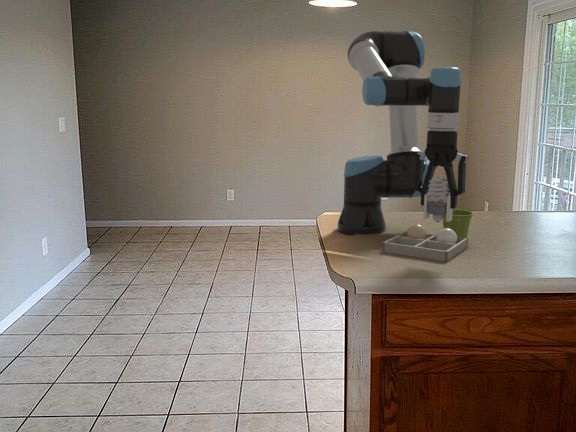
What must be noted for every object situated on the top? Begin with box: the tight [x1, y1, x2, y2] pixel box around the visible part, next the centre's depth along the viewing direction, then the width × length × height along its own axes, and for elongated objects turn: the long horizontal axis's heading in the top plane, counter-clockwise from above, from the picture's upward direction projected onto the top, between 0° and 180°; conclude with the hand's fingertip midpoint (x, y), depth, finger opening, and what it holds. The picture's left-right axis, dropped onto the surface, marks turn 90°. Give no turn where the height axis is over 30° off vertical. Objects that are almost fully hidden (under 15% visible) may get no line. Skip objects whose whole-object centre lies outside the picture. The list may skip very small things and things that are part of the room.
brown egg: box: [406, 224, 428, 240], centre depth 170 cm, size 6×6×6 cm
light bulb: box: [427, 176, 450, 223], centre depth 155 cm, size 6×6×12 cm
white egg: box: [436, 227, 457, 244], centre depth 165 cm, size 6×6×6 cm
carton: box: [382, 229, 469, 262], centre depth 164 cm, size 18×18×3 cm
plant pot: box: [442, 209, 474, 238], centre depth 176 cm, size 9×9×9 cm
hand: (437, 219), depth 156 cm, fingers closed on light bulb, 5 cm apart
